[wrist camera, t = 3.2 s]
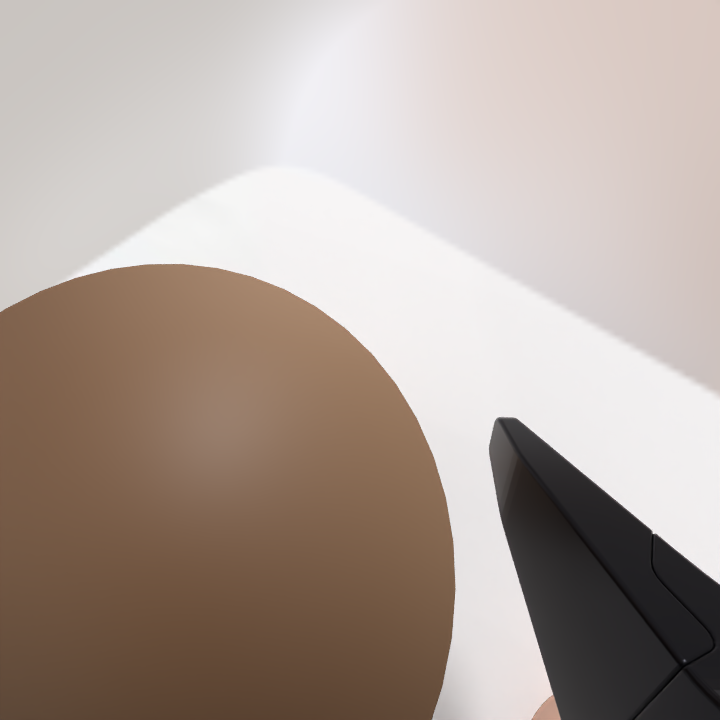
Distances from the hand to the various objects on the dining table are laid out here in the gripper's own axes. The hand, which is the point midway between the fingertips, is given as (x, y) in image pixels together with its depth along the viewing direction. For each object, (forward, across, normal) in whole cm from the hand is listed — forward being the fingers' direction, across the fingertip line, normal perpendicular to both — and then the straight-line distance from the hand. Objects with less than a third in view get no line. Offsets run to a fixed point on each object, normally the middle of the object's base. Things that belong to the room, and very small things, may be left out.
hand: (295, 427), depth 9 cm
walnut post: (+4, 0, +6) cm, 7 cm away
